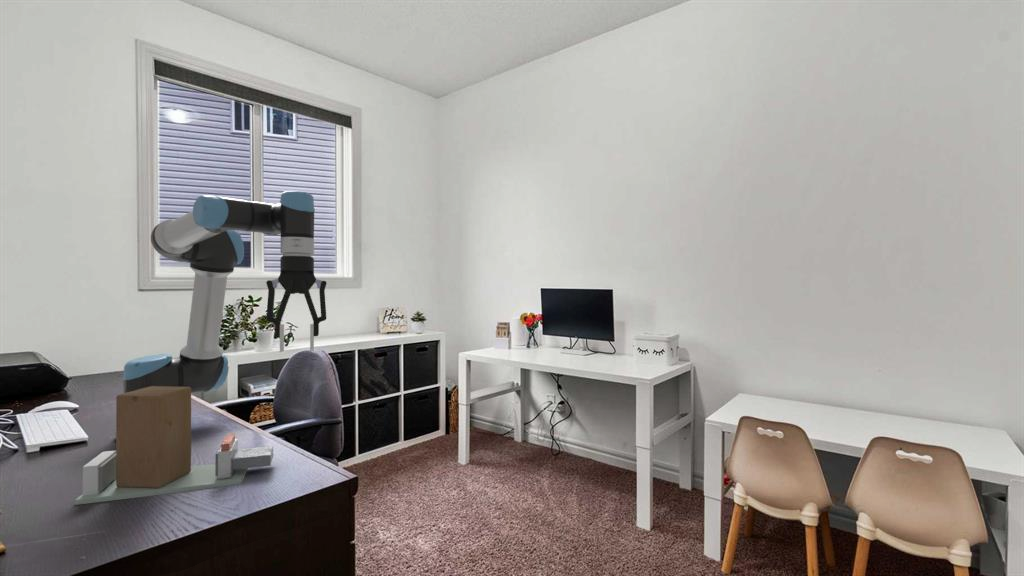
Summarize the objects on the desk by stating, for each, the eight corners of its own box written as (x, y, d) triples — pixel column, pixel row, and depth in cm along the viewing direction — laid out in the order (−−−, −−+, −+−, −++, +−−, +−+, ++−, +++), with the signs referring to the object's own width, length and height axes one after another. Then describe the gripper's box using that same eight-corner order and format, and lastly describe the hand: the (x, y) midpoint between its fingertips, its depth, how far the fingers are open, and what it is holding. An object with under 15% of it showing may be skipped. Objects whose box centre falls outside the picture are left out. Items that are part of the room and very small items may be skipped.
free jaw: (223, 464, 121) (223, 433, 121) (273, 458, 125) (273, 429, 125) (214, 479, 112) (215, 446, 112) (269, 472, 116) (269, 440, 116)
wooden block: (159, 489, 107) (159, 395, 107) (114, 487, 108) (115, 394, 108) (191, 471, 117) (192, 386, 117) (151, 470, 118) (151, 385, 118)
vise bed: (103, 479, 115) (103, 449, 115) (250, 464, 125) (250, 436, 125) (75, 504, 102) (75, 470, 102) (241, 484, 112) (241, 453, 112)
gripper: (251, 253, 116) (251, 354, 116) (339, 255, 122) (338, 350, 122) (255, 255, 123) (255, 350, 123) (338, 257, 129) (337, 347, 129)
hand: (297, 350), depth 122 cm, fingers open, 6 cm apart
